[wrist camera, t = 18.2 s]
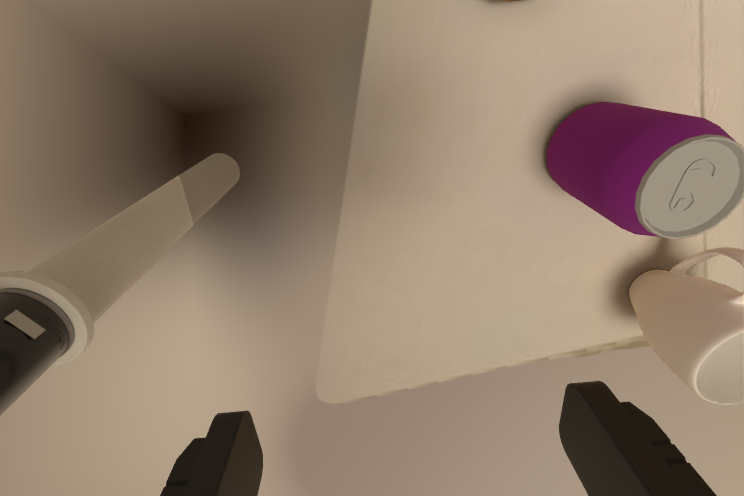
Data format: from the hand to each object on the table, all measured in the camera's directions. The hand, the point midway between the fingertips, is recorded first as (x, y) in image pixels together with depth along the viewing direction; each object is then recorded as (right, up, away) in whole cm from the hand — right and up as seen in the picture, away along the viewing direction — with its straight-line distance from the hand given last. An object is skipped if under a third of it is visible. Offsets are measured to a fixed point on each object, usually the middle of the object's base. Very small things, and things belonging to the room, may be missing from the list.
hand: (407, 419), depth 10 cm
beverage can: (+18, +13, +23) cm, 32 cm away
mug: (+27, +2, +29) cm, 40 cm away
